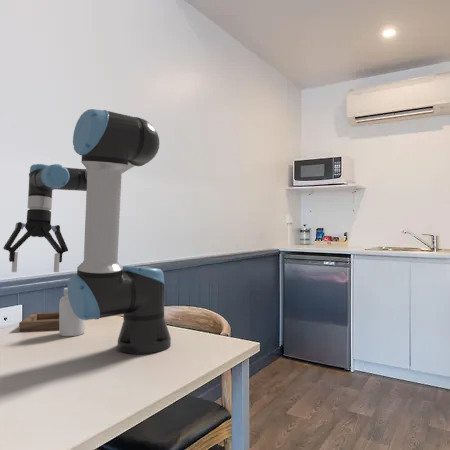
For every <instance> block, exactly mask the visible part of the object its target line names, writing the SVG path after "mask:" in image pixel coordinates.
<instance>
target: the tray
mask: <svg viewBox="0 0 450 450" xmlns="http://www.w3.org/2000/svg"><path fill="white" fill-rule="evenodd" d="M18 324H19V325H18V326H19V328H18V331H19V332H20V333H21V332H38V331H40V332H41V331H59V311H57V312H52V311H51V312H37V313H36V312H34V313H32V314H30V315H29V316H27V317H25V318H23V320H21V321H19V322H18Z"/></svg>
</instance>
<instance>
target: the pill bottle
mask: <svg viewBox="0 0 450 450" xmlns="http://www.w3.org/2000/svg"><path fill="white" fill-rule="evenodd" d="M58 310H59V311H58V312H59V330H58V331H59V332H58V333H59V335H60V336H61V337H75V336H81V335H83V334H85V333H86V332H85V331H86V320H82V319H80V318H78V317H77V316H76V315H75V313H74V312H73V310H72V308H71V305H70V302H69V298H68V290H67V287H64V288H63V296H62V297H61V298H60V299H59V307H58Z"/></svg>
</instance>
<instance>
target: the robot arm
mask: <svg viewBox="0 0 450 450" xmlns="http://www.w3.org/2000/svg"><path fill="white" fill-rule="evenodd" d="M72 145H73V150H74V151H75V153H76V154H78V155H79V156H81V165H83V166H84V167H85V168H74V167H66V166H64V165H62V164H59V163H55V164H49V165H48V164H44V163H37V164H31V165H30V167H29V173H28V193H27V195H28V196H27V208H28V210H27V212H26V223H23V222H21V221H18V222H16V223H15V228H14V230H13V232H12V233H11V235H10V236H9V237H8V240H7V241H6V242H5V244H4V245H3V248H2V249H3V250H5V251H7V252H9V257H8V260H9V261H8V262H9V263H11V273H18V272H17V271H18V270H17V269H18V254H19V251H17V250H18V249H20V247H21V246H22V245H23V244H24V243H25V242H26V241H27V240H28V239H29V238H30V237H31V238H36V237H38V238H45V239H46V240H47V242H48V243H49V244H50V245H51V247H52V248H53V249H54V251H55V252H56V253H54V257H53V258H54V259H53V260H54V261H53V273H60V263H62V262H63V253H66V252H68V251H69V248H68V246H67V244H66V242H65V239H64V237H63V234H62V232H61V226H60V224H59V225H58V224H57V225H52V223H51V222H52V211H51V210H52V205H53V191H54V190H62V191H78V192H79V191H81V192H85V193H86V194H85V195H86V196H85V197H86V198H85V221H84V222H85V223H84V242H83V243H84V245H83V247H84V248H83V261H82V262H81V263H80V264H79V265H77V269H76V270H77V271H76V275H73V276H71V277H70V278H69V280H68V282H67V287H66V288H67V290H68V298H69V302H70V305H71V308H72V310H73V312H74V313H75V315H76V316H77V317H78V318H80V319H82V320H85V321H88V320H89V321H90V320H99V319H102V318H109V317H113V316H121V315H123V322H122V324H121V328H120V331H119V335H118V338H117V350H118V351H119V352H122V353H125V354H130V355H131V354H133V355H144V354H152V353H157V352H162V351H165V350H167V349H169V348H170V346H171V345H172V343H171V342H172V338H171V334H170V332H169V328H168V325H167V322H166V319H165V285H166V284H165V276H164V271H163V270H162V269H160V268H157V267H148V266H136V265H135V266H133V265H124V266H122V265H121V263H119V262H118V258H119V256H118V254H119V235H120V217H121V216H120V211H121V196H122V195H121V194H122V193H121V192H122V176H123V174H124V173H125V172H127V171H129V170H130V169H133V168H134V167H141V166H144V165H146V164H149V163H150V162H151V161H152V160H153V159H154V158H156V155H157V154H158V152H159V149H160V136H159V134H158V131H157V130H156V128H155V126H154V125H153V124H151V123H150V122H149V121H147V120H146V119H144V118H142V117H137V116H131V115H127V114H122V113H119V112H114V111H110V110H106V109H103V110H102V109H97V108H96V109H95V108H91V109H90V108H89V109H87V110H85V111H84V112H82V113H81V115H80V116H79V118H78V120H77V121H76V124H75V127H74V130H73V136H72ZM23 229H25V230H26V232H25V233H24V234H23V236H22V237H21V238H20V239H18V240H17V237H18V236H19V234H20V232H21V230H23ZM51 230H52V232H53V233H54V236H55V238H56V240H57V241H56V240H55V239H54V237H53V235H52V234H51V233H50V232H51ZM16 240H17V241H16ZM15 241H16V242H15ZM57 242H58V243H57Z"/></svg>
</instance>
